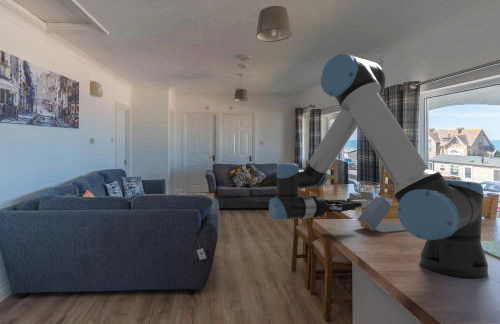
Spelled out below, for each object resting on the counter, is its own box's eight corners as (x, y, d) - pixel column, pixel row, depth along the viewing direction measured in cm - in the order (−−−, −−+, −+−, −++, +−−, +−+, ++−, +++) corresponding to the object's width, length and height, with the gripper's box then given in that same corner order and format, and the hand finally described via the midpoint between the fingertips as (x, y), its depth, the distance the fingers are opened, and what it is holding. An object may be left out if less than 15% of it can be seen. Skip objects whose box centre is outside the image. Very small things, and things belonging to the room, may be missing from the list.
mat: (382, 233, 120) (382, 232, 120) (360, 225, 131) (360, 224, 131) (414, 230, 125) (414, 229, 125) (390, 222, 136) (391, 221, 136)
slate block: (365, 222, 122) (384, 198, 124) (356, 219, 126) (375, 196, 129) (373, 231, 123) (392, 207, 125) (364, 227, 128) (382, 205, 130)
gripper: (302, 213, 124) (354, 209, 132) (321, 221, 111) (377, 216, 119) (302, 193, 123) (355, 191, 131) (321, 199, 111) (378, 196, 119)
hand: (365, 203), depth 125 cm, fingers closed
